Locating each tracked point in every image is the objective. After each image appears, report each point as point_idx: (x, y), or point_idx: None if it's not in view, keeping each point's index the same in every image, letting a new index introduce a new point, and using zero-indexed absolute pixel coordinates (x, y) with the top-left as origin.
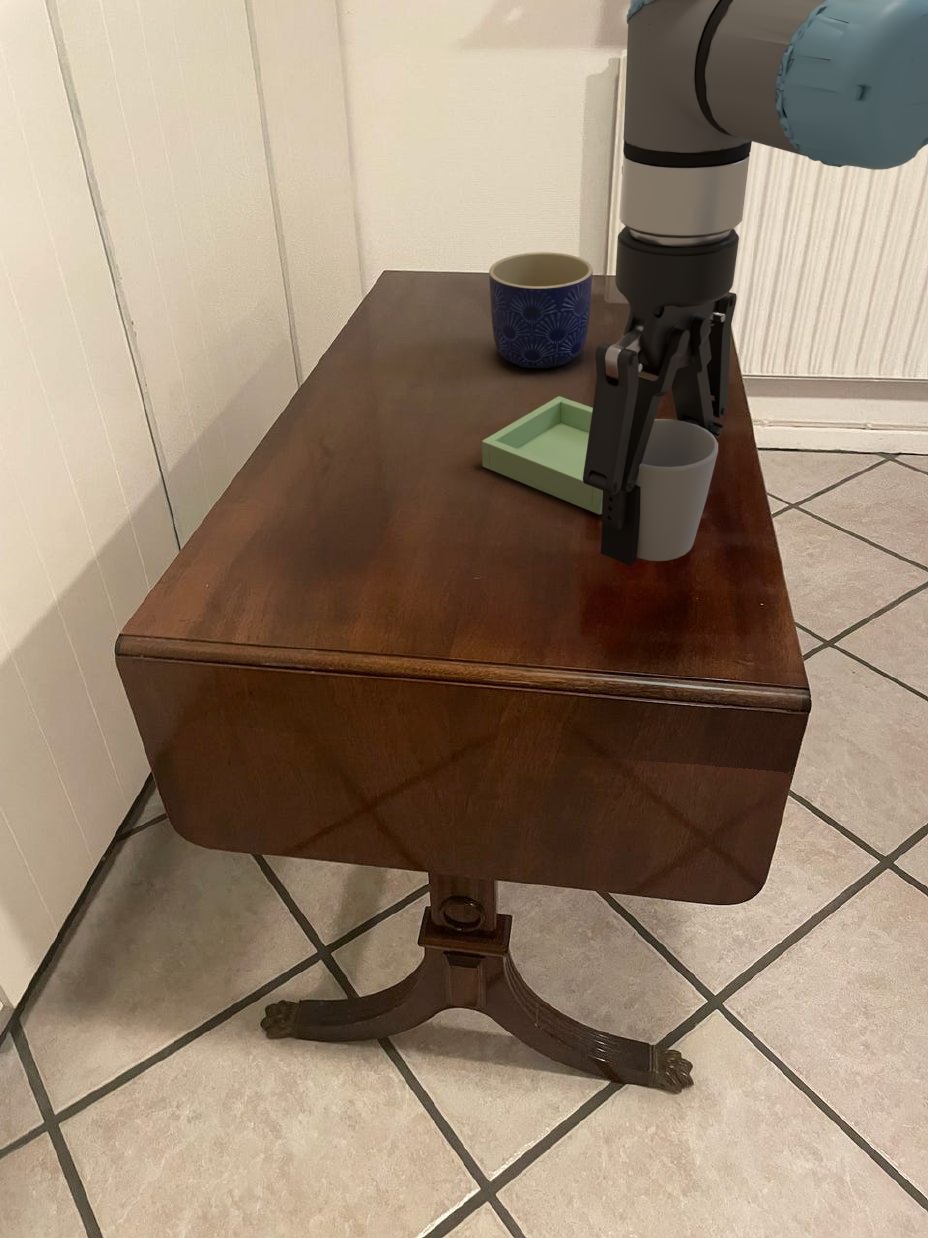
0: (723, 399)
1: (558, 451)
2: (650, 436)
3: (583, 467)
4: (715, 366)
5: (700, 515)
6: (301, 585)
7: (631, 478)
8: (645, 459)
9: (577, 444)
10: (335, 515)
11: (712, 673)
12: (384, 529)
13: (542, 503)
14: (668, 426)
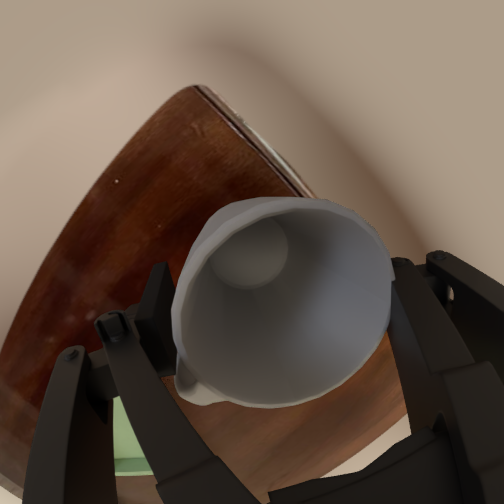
0: (66, 371)
1: (133, 441)
2: (240, 375)
3: (126, 420)
4: (77, 449)
5: (232, 204)
6: (376, 392)
7: (404, 266)
8: (242, 348)
9: (114, 439)
10: (314, 442)
11: (232, 137)
12: (303, 424)
13: (183, 406)
14: (213, 375)
